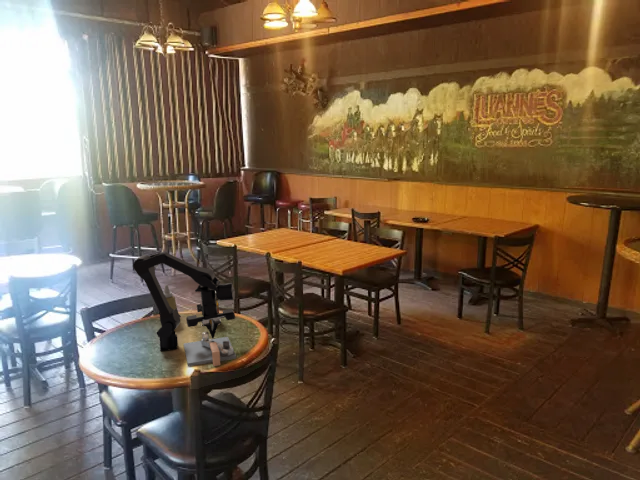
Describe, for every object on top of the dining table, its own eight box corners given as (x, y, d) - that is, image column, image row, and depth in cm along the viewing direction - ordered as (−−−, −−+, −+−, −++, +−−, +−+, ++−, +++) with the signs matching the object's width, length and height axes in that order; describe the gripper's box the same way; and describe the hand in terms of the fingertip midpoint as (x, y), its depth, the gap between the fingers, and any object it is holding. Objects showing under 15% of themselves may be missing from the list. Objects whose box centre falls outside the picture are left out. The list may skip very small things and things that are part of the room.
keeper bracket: (213, 366, 186) (212, 352, 185) (210, 356, 194) (209, 342, 193) (220, 365, 186) (219, 351, 185) (216, 355, 195) (215, 341, 194)
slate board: (187, 366, 186) (187, 362, 186) (183, 346, 205) (183, 342, 204) (236, 358, 192) (235, 355, 191) (227, 339, 210) (227, 336, 210)
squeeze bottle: (172, 318, 238) (168, 281, 234) (182, 321, 233) (179, 284, 229) (157, 323, 231) (153, 285, 228) (167, 326, 226) (163, 288, 223)
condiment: (220, 325, 227) (218, 299, 225) (201, 326, 226) (199, 301, 224) (221, 319, 234) (219, 294, 232) (202, 320, 233) (200, 296, 231)
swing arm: (235, 352, 193) (235, 340, 192) (226, 356, 190) (225, 344, 189) (208, 341, 204) (207, 330, 203) (198, 345, 201) (197, 333, 200)
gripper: (228, 292, 210) (231, 327, 213) (182, 299, 204) (187, 335, 207) (233, 299, 200) (237, 335, 203) (185, 307, 194) (190, 344, 197)
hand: (212, 337), depth 203 cm, fingers closed
